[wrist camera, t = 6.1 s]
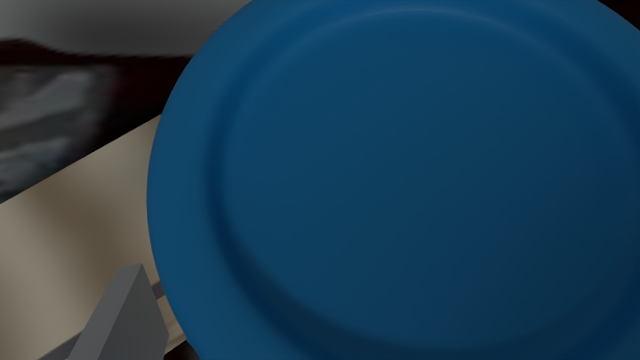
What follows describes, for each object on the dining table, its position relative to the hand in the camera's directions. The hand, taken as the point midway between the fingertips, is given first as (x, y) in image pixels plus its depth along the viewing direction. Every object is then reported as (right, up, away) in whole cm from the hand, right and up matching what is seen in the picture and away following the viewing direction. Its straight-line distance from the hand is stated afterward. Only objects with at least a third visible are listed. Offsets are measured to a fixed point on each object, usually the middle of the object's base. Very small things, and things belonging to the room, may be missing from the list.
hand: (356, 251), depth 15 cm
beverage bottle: (+1, -6, +9) cm, 11 cm away
